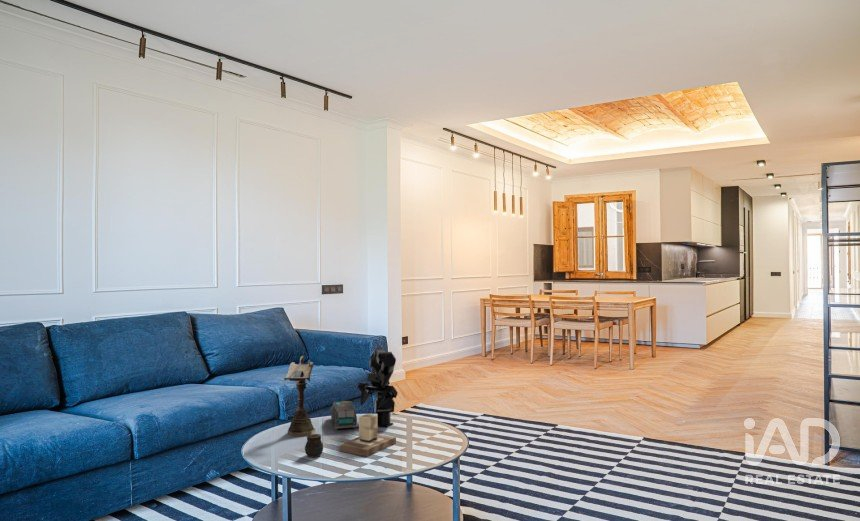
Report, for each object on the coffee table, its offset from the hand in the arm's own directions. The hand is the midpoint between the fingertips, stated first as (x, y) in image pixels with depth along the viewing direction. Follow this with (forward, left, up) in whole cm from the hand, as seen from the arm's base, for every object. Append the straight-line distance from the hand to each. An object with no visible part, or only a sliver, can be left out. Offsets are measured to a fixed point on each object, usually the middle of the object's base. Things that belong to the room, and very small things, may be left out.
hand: (369, 405), depth 258 cm
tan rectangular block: (+12, +8, -11) cm, 18 cm away
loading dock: (+12, +8, -14) cm, 20 cm away
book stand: (+12, -29, -14) cm, 34 cm away
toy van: (-12, -24, -14) cm, 30 cm away
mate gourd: (+32, -4, -14) cm, 35 cm away
